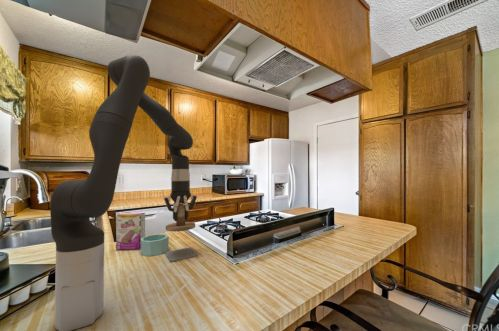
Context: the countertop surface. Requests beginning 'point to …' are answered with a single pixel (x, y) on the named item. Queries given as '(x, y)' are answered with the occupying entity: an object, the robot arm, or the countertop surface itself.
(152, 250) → the bowl
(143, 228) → the candy bar box
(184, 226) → the lid
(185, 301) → the countertop surface
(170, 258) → the mat
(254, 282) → the countertop surface
